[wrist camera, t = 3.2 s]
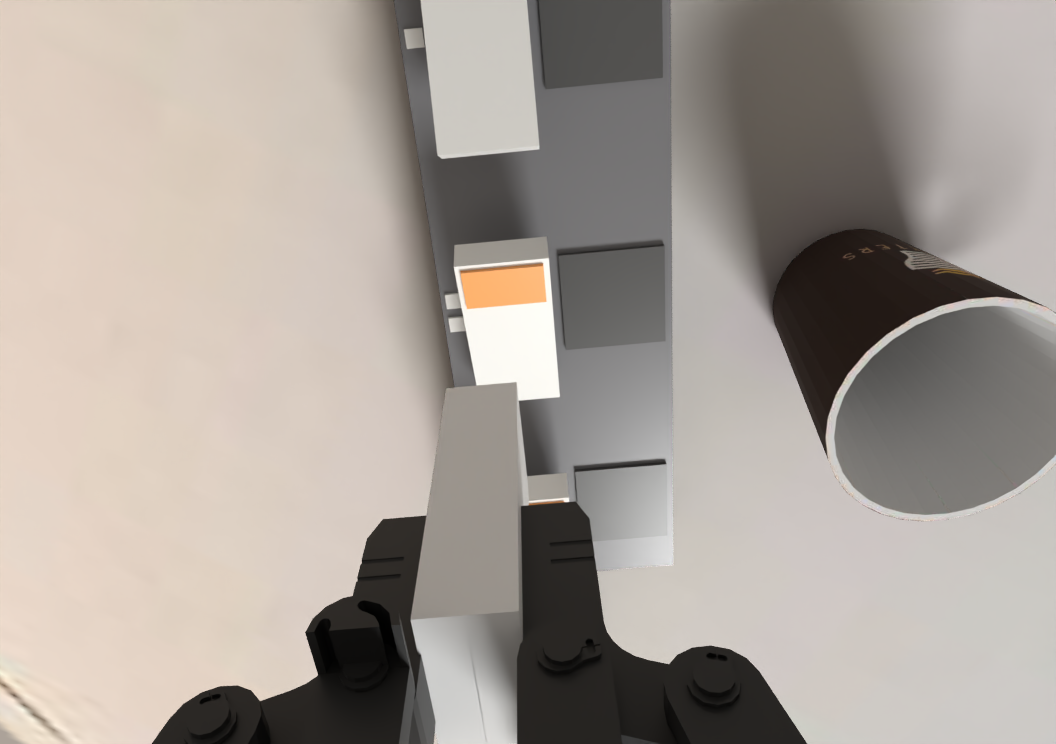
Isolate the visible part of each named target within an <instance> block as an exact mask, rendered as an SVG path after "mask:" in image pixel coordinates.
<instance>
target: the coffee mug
mask: <svg viewBox="0 0 1056 744" xmlns="http://www.w3.org/2000/svg"><path fill="white" fill-rule="evenodd" d="M773 315H774V322H775V325H776V328H777V330H778V333H779V335H780V338H781V340H782V343H783V346H784V348H785V351H786V353H787V356H788V358H789V361H790V363H791V366H792V369H793V371H794V374H795V376H796V379H797V381H798V384H799V386H800V389H801V391H802V394H803V397H804V399H805V402H806V404H807V407H808V409H809V412H810V414H811V417H812V420H813V422H814V425H815V427H816V430H817V432H818V435H819V437H820V440H821V443H822V445H823V448H824V450H825V453H826V455H827V458H828V460H829V463H830V465H831V468H832V470H833V473H834V475H835V477H836V479H837V480H838V481H839V483H840V484H841V485H842V487H843V488H844V489H845V491H846V492H847V493H848V494H849V495H851V496H852V497H853V498H854V499H855V500H857V501H858V502H859V503H860V504H862V505H863V506H865V507H868V508H870V509H872V510H874V511H876V512H878V513H880V514H883V515H887V516H890V517H894V518H898V519H902V520H914V521H936V520H949V519H953V518H958V517H962V516H967V515H972V514H975V513H977V512H980V511H983V510H986V509H988V508H991V507H994V506H996V505H998V504H1000V503H1002V502H1004V501H1006V500H1008V499H1010V498H1012V497H1014V496H1015V495H1017V494H1019V493H1021V492H1022V491H1024V490H1025V489H1026V488H1028V487H1029V486H1031V485H1032V484H1033V483H1035V482H1036V481H1038V480H1039V479H1040V478H1042V477H1043V476H1044V475H1045V474H1046V473H1047V472H1048V471H1049V470H1050V469H1051V468H1052V467H1053V466H1054V465H1055V464H1056V313H1055V312H1054V311H1052V310H1051V309H1049V308H1047V307H1045V306H1043V305H1041V304H1039V303H1036V302H1034V301H1032V300H1030V299H1028V298H1026V297H1023V296H1021V295H1019V294H1017V293H1015V292H1012V291H1010V290H1008V289H1006V288H1004V287H1001V286H999V285H997V284H995V283H993V282H990V281H988V280H986V279H984V278H982V277H980V276H977V275H975V274H973V273H971V272H969V271H966V270H964V269H962V268H960V267H958V266H955V265H953V264H951V263H949V262H947V261H945V260H942V259H940V258H938V257H936V256H934V255H931V254H929V253H927V252H925V251H923V250H920V249H918V248H916V247H914V246H912V245H909V244H907V243H905V242H903V241H901V240H899V239H896V238H894V237H892V236H890V235H887V234H884V233H881V232H878V231H874V230H865V229H856V230H846V231H842V232H838V233H834V234H831V235H829V236H827V237H824V238H822V239H820V240H818V241H816V242H815V243H813V244H812V245H810V246H809V247H807V248H806V249H804V250H803V251H802V252H801V253H800V254H799V255H798V256H797V257H796V258H795V259H794V260H793V261H792V262H791V264H790V265H789V266H788V268H787V269H786V270H785V272H784V273H783V275H782V277H781V279H780V281H779V283H778V285H777V289H776V292H775V296H774V303H773Z"/></svg>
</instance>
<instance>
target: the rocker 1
mask: <svg viewBox="0 0 1056 744" xmlns="http://www.w3.org/2000/svg"><path fill="white" fill-rule="evenodd" d="M421 9H422V18H423V27H424V36H425V46H426V55H427V64H428V73H429V82H430V91H431V101H432V110H433V119H434V128H435V137H436V146H437V156H439V157H440V158H442V159H445V158H456V157H466V156H476V155H487V154H497V153H507V152H518V151H528V150H538V149H539V136H538V124H537V112H536V101H535V89H534V78H533V66H532V54H531V43H530V31H529V20H528V8H527V0H421Z"/></svg>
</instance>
